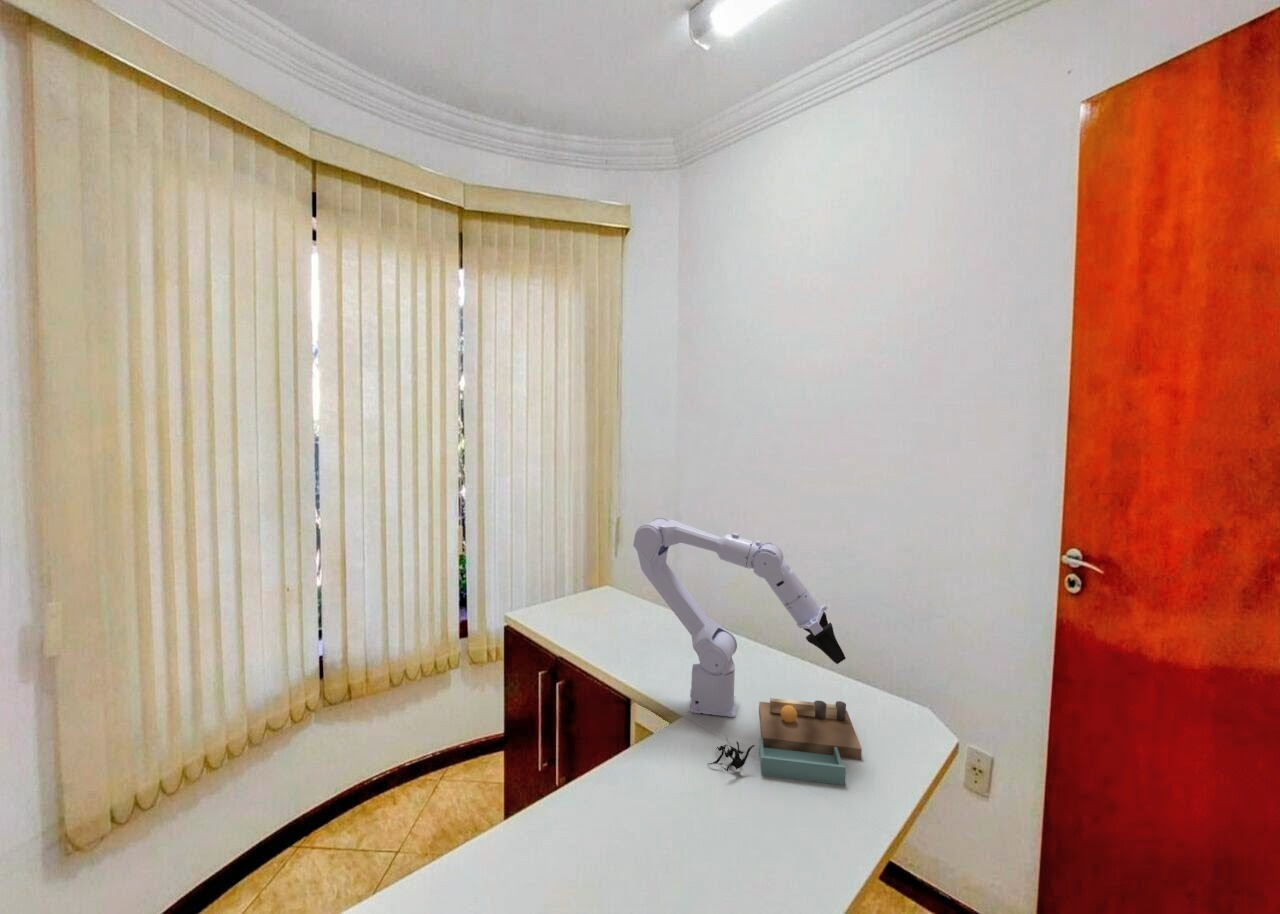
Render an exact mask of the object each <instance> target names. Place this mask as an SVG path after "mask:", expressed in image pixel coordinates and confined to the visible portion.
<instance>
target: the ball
mask: <svg viewBox="0 0 1280 914" xmlns="http://www.w3.org/2000/svg"><path fill="white" fill-rule="evenodd" d="M781 717H782V719H783V720H784V721H785V722H788V723H792V722H794V721H795V720H796V718H797V712H796V710H795V708H794V707H792V706H790V705H786V706H784V707H783V708H782V709H781Z"/></svg>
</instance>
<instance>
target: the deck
mask: <svg viewBox="0 0 1280 914" xmlns="http://www.w3.org/2000/svg"><path fill="white" fill-rule="evenodd" d="M758 713H759V724H760V725H759V726H760V735H761V736H760V738H761V739H763V747H766V748H774V749H783V750H792V751H800V752H809V753H817V754H826V755H833V754H834V747H837V748H838V751H839V755H840V758H847V759H858V760H861V759H862V750H863V749H862V746H861V743H860V741H859V738H858V735H857V734H856V730H855V728H854V725H853V723H852V720H851V718H850V716H849V715H850V714H849V712H848V710H847V709H846V719H845V720H844V721H840V720H837V719H830V718H825V719H818V718H816V717H811V716H802V715H797V718H796V720H795V721H794V722H792V723H788V722H785V721H784V720H783V719H782V717H781V713H773V712H770V702H767V701H759V702H758Z"/></svg>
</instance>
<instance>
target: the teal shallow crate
mask: <svg viewBox="0 0 1280 914" xmlns="http://www.w3.org/2000/svg"><path fill="white" fill-rule="evenodd" d="M758 741H759V742H758V744H759V745H758V751H759V752H758V753H759V762H760V763H759V764H760V775H761V776H768V777H775V778H777V777H778V778H783V779H784V778H785V779H793V780H801V781H807V782H808V781H809V782H816V783H826V784H830V785H831V784H832V785H833V784H834V785H839V786H841V785H842V786H846V775H847V774H846V773H847V766H846V765H844V764H843V762H842V759H841V758H842V757H840V755H839V751H838V748H837V747H834V754H833V755H826V754H817V753H809V752H800V751H792V750H783V749H774V748H766V747H763V739H761V737H759V739H758Z"/></svg>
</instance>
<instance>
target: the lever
mask: <svg viewBox="0 0 1280 914" xmlns="http://www.w3.org/2000/svg"><path fill="white" fill-rule="evenodd" d="M769 703H770V712H773V713H781V709H782V708H783V707H784V706H786V705H790V706H792V707H794V708H795V710H796V712H797V715H802V716H811V717H816V718H818V719H825V718H830V719H837V720H840V721H844V720H845V719H846V710H847V703H845V702H844V701H840V700H837V701H836V702H835V704H831V703H826V702H825V701H822V700H815V701H814V702H813V701H812V702H811V701H803V700H793V699H785V698H784V699H783V698H782V699H781V698H774V697H773V698H772V697H770V698H769Z"/></svg>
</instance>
